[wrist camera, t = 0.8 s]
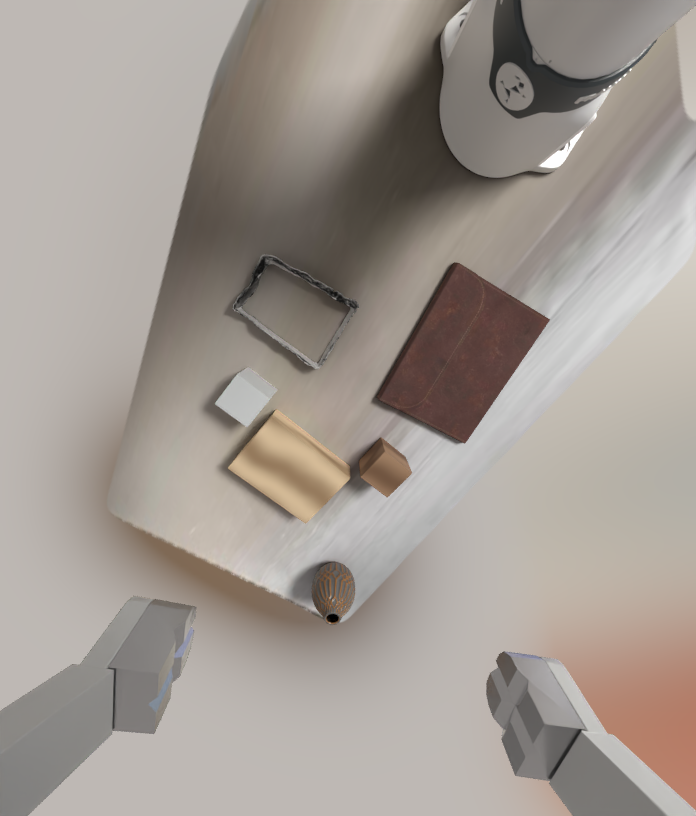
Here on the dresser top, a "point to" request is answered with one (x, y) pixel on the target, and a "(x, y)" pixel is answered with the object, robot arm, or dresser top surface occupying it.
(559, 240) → the dresser top surface
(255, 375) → the grey block
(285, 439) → the oak block
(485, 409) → the notebook
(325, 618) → the vase
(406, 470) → the walnut cube
